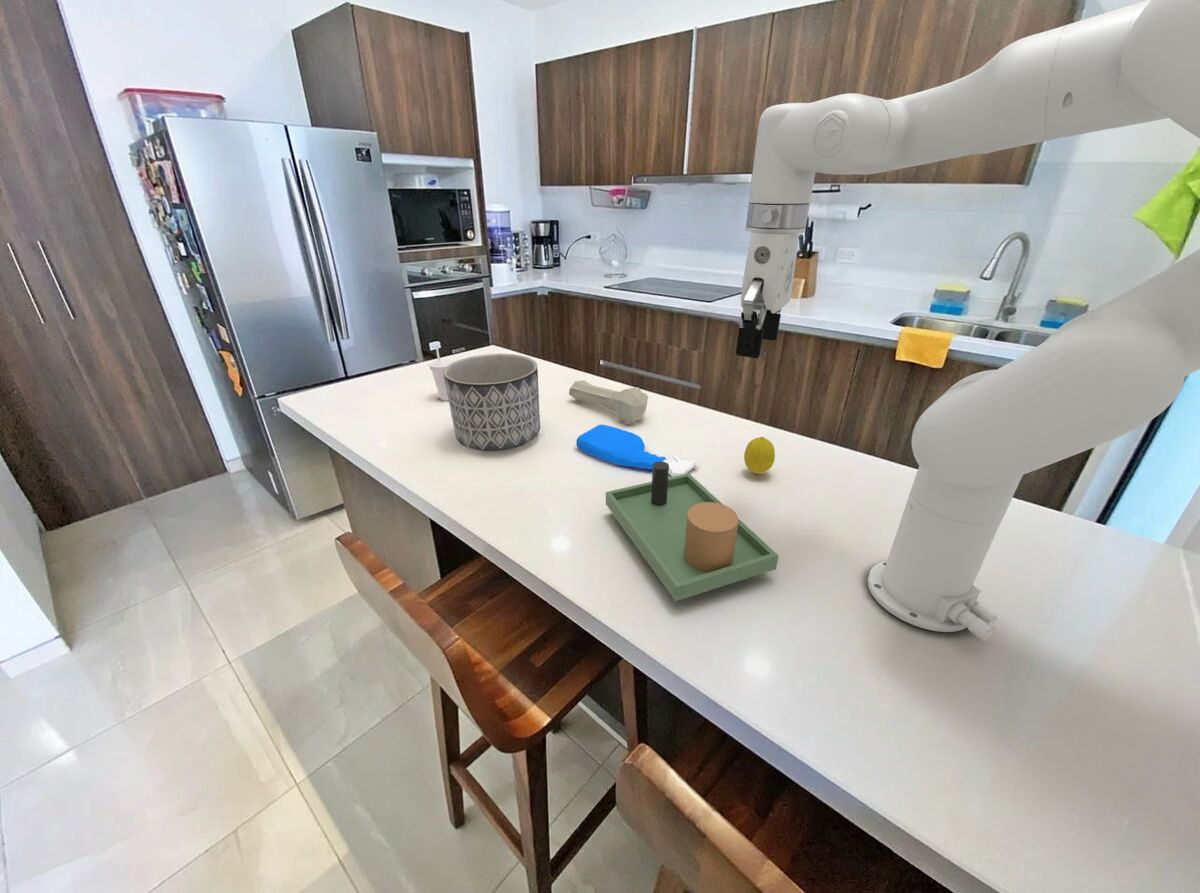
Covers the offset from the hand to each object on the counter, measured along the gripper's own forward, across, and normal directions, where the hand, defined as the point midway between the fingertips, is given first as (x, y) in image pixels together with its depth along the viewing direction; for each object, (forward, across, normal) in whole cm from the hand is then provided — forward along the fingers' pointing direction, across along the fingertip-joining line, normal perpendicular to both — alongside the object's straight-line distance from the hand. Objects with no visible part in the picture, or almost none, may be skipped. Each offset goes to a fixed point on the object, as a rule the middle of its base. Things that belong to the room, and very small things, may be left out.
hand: (756, 347), depth 73 cm
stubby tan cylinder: (+26, -18, -2) cm, 31 cm away
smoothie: (+30, +12, +81) cm, 87 cm away
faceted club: (+30, +26, +40) cm, 56 cm away
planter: (+30, +1, +53) cm, 61 cm away
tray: (+27, -14, +4) cm, 30 cm away
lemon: (+29, +13, 0) cm, 32 cm away
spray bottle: (+29, +8, +23) cm, 38 cm away
